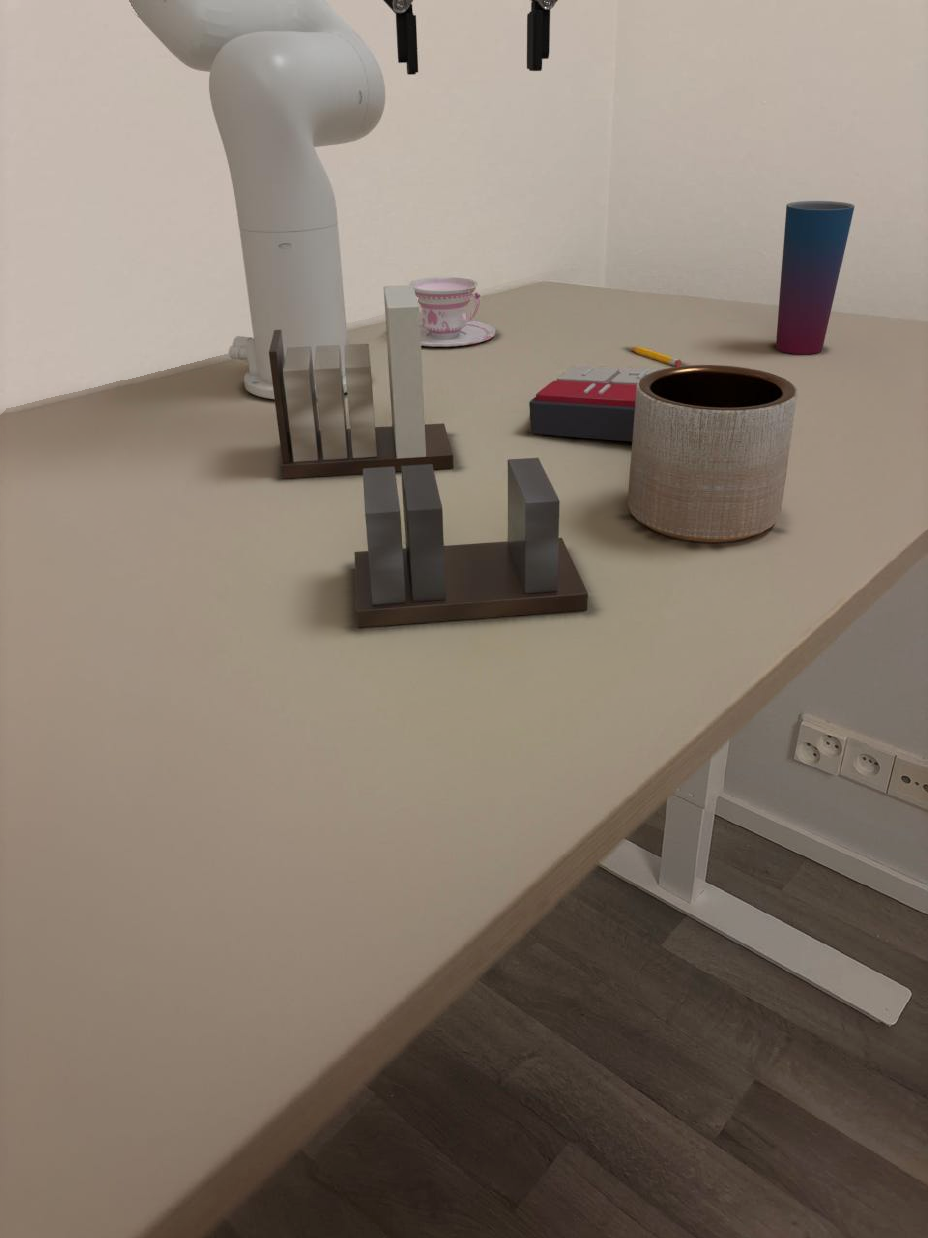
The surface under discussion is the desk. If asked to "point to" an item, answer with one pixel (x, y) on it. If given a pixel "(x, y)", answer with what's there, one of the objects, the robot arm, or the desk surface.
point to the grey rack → (461, 554)
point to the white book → (405, 370)
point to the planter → (710, 451)
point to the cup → (810, 272)
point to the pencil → (656, 356)
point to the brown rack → (336, 415)
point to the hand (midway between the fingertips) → (473, 72)
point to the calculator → (588, 403)
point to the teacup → (449, 312)
